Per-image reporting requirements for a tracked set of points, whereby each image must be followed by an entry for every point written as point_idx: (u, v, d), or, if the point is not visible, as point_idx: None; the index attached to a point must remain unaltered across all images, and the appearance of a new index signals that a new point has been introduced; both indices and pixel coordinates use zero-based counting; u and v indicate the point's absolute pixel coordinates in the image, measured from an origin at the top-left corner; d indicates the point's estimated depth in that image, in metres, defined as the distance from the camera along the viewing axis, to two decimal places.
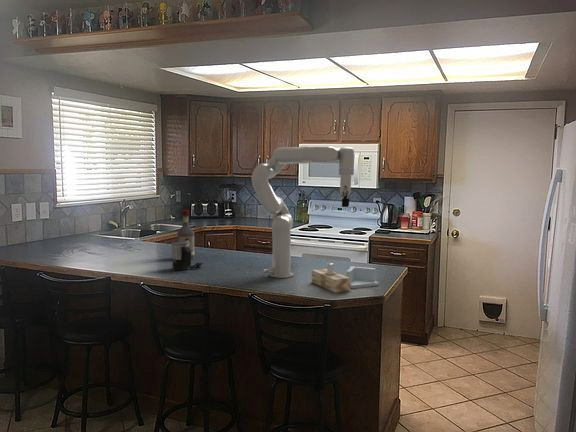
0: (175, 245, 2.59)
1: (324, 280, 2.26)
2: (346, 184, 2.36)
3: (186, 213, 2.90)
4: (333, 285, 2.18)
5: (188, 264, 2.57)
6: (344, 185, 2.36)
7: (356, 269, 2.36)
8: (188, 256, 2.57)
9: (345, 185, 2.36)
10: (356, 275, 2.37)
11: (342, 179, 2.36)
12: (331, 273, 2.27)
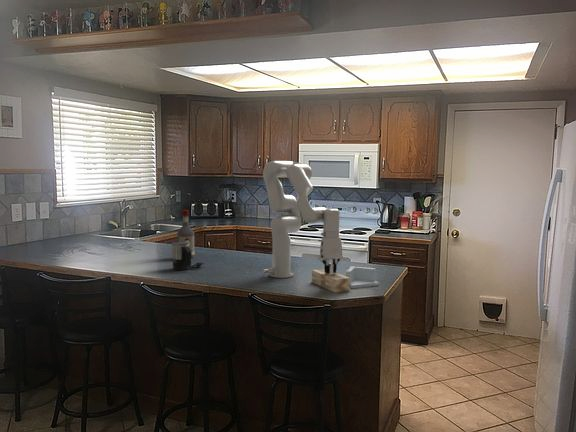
0: (175, 245, 2.59)
1: (324, 280, 2.26)
2: None
3: (186, 213, 2.90)
4: (333, 285, 2.18)
5: (188, 264, 2.57)
6: None
7: (356, 269, 2.36)
8: (188, 256, 2.57)
9: None
10: (356, 275, 2.37)
11: None
12: (331, 273, 2.27)
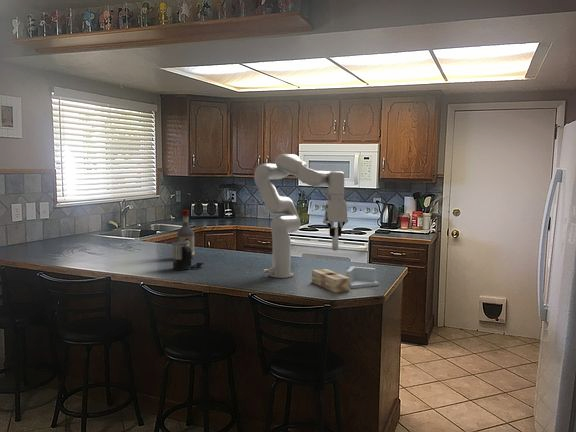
0: (175, 245, 2.59)
1: (324, 280, 2.26)
2: None
3: (186, 213, 2.90)
4: (333, 285, 2.18)
5: (188, 264, 2.58)
6: None
7: (356, 269, 2.36)
8: (188, 256, 2.57)
9: None
10: (356, 275, 2.37)
11: None
12: (336, 236, 2.26)
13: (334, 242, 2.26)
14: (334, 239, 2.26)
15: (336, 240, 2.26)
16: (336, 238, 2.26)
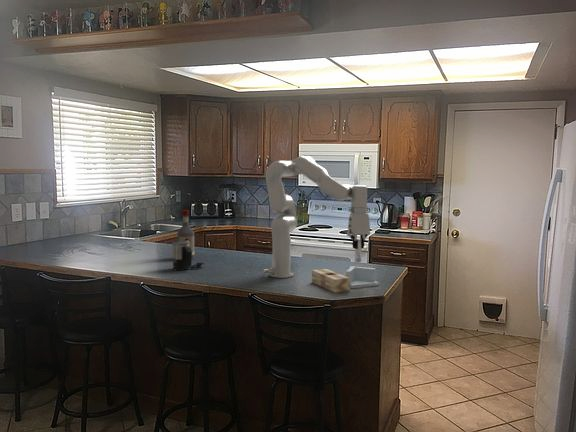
0: (176, 245, 2.59)
1: (324, 280, 2.26)
2: None
3: (186, 213, 2.90)
4: (333, 285, 2.18)
5: (189, 264, 2.58)
6: None
7: (356, 269, 2.36)
8: (189, 256, 2.57)
9: None
10: (356, 275, 2.37)
11: None
12: (359, 248, 2.32)
13: (357, 254, 2.32)
14: (357, 251, 2.32)
15: (359, 252, 2.32)
16: (359, 250, 2.32)
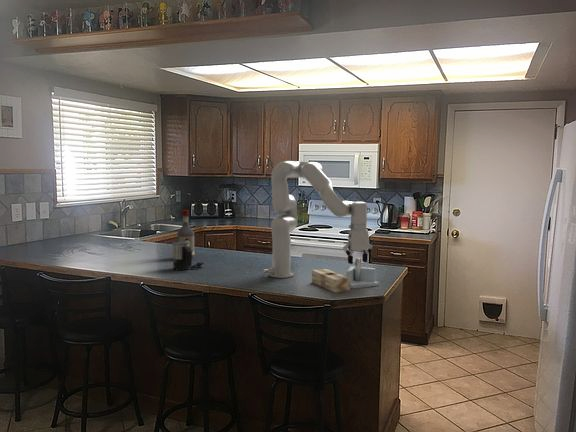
0: (176, 245, 2.60)
1: (324, 280, 2.26)
2: None
3: (186, 213, 2.90)
4: (333, 285, 2.18)
5: (189, 264, 2.58)
6: None
7: None
8: (189, 256, 2.57)
9: None
10: None
11: None
12: (358, 268, 2.33)
13: (356, 273, 2.33)
14: (356, 270, 2.33)
15: (358, 271, 2.33)
16: (358, 269, 2.33)
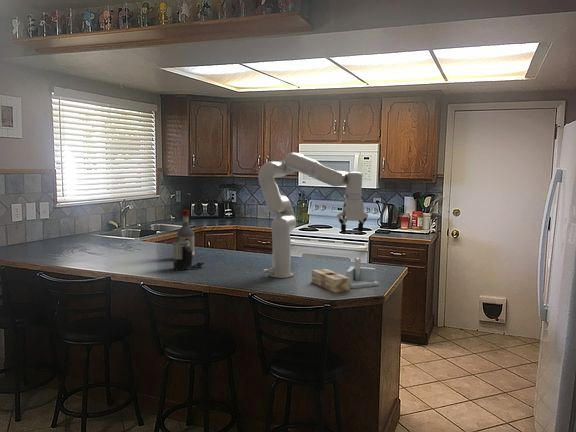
0: (176, 245, 2.60)
1: (324, 280, 2.26)
2: None
3: (186, 213, 2.90)
4: (333, 285, 2.18)
5: (189, 264, 2.58)
6: None
7: None
8: (189, 256, 2.57)
9: None
10: None
11: None
12: (358, 267, 2.33)
13: (356, 273, 2.33)
14: (356, 270, 2.33)
15: (358, 271, 2.33)
16: (358, 269, 2.33)
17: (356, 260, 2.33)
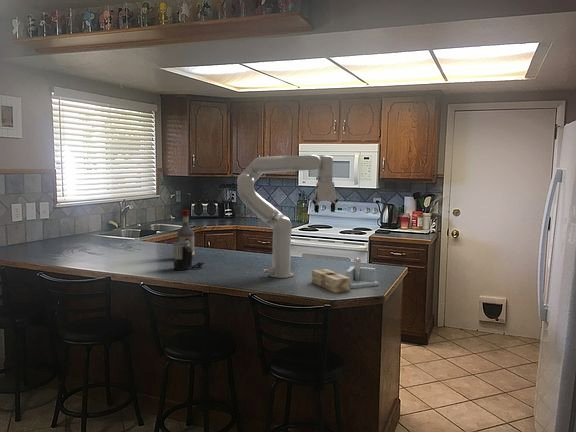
0: (176, 245, 2.60)
1: (324, 280, 2.26)
2: None
3: (186, 213, 2.90)
4: (333, 285, 2.18)
5: (189, 264, 2.58)
6: None
7: None
8: (189, 256, 2.57)
9: None
10: None
11: None
12: (358, 267, 2.33)
13: (356, 273, 2.33)
14: (356, 270, 2.33)
15: (358, 271, 2.33)
16: (358, 269, 2.33)
17: (356, 260, 2.33)
